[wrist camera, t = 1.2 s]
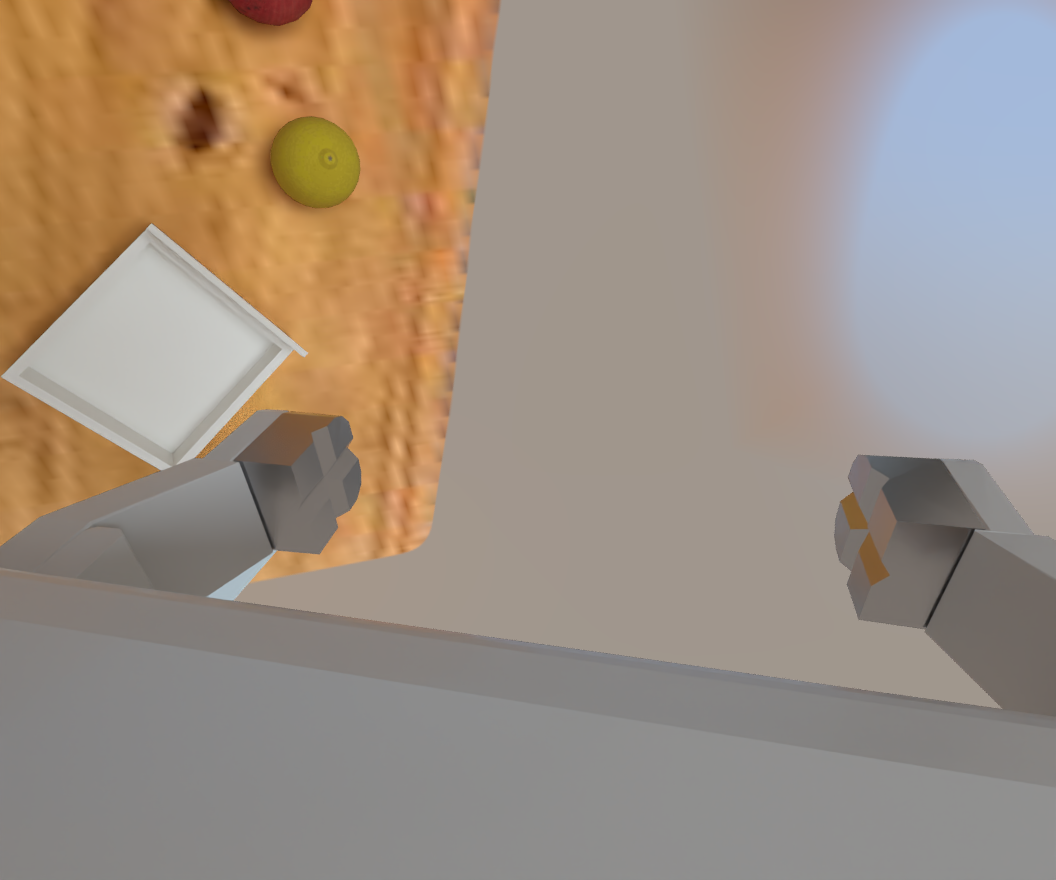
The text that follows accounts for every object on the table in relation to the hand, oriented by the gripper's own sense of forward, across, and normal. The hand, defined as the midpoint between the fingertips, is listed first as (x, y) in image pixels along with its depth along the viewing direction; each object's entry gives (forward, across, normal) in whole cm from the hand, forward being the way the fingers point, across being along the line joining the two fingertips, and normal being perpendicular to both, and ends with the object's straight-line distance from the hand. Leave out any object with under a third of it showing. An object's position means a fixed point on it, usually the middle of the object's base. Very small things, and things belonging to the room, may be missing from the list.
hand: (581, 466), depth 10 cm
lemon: (+35, +25, +1) cm, 43 cm away
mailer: (+25, +33, +11) cm, 42 cm away
